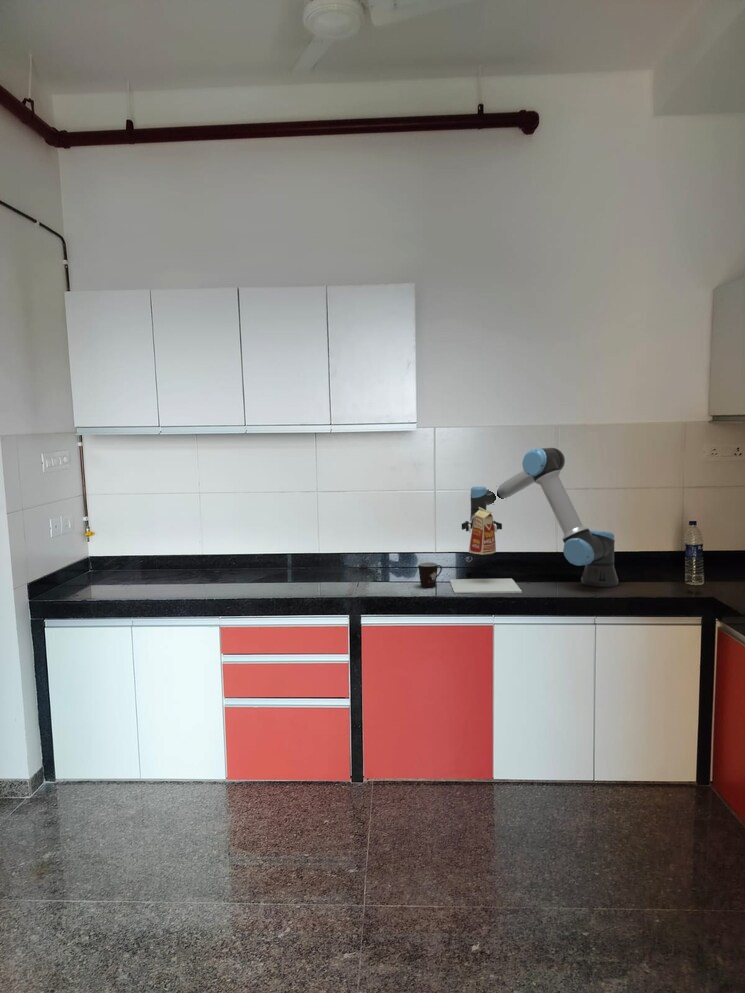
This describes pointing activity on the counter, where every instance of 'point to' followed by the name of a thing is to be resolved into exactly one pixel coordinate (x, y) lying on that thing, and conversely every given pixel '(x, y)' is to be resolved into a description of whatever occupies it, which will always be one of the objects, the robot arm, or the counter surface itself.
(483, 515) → the milk carton
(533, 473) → the robot arm
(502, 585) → the mat
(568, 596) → the counter surface
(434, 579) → the coffee mug
